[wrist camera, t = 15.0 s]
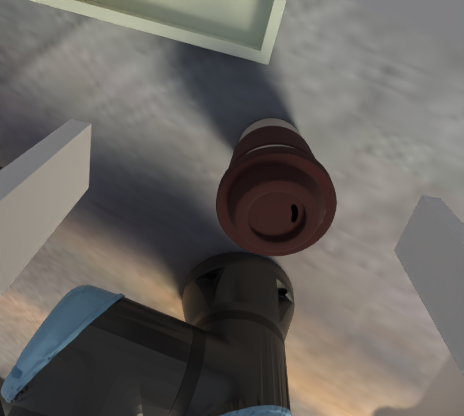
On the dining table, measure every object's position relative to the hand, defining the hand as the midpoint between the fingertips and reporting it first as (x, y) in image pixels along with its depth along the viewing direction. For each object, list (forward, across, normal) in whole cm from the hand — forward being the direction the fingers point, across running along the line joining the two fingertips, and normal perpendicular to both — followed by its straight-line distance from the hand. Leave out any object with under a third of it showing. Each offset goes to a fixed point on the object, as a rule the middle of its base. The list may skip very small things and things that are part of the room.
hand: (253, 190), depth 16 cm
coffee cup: (+28, -4, +8) cm, 30 cm away
